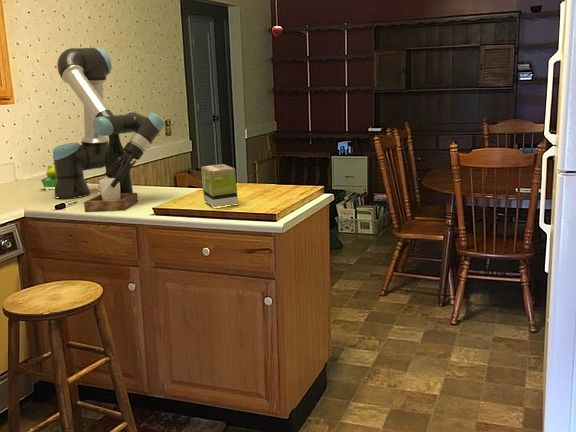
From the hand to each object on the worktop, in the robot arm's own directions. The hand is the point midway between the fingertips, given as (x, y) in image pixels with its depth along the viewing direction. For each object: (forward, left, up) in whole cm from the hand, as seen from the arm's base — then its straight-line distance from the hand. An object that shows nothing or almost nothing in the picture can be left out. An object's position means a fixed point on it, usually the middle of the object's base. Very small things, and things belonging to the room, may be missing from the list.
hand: (102, 191), depth 249 cm
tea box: (+48, -1, -7) cm, 48 cm away
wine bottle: (-2, +25, -7) cm, 26 cm away
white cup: (+3, +2, -6) cm, 7 cm away
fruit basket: (-47, +54, -7) cm, 72 cm away
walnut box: (+3, +2, -7) cm, 8 cm away
